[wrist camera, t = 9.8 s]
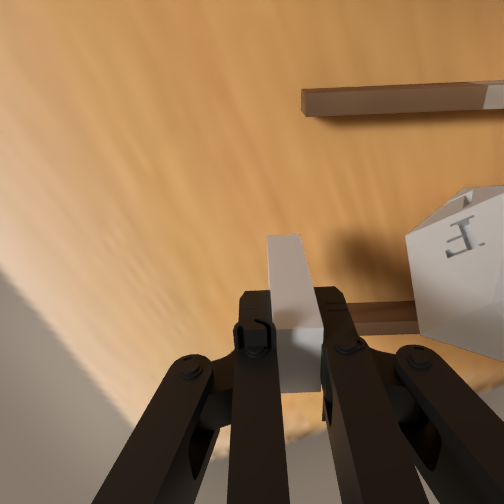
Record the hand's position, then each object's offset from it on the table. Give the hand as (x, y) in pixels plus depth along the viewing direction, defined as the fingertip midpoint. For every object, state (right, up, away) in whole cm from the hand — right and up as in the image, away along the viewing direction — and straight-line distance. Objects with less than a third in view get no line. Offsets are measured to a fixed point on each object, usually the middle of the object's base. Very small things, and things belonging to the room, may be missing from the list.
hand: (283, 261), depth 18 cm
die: (+11, +1, +5) cm, 12 cm away
